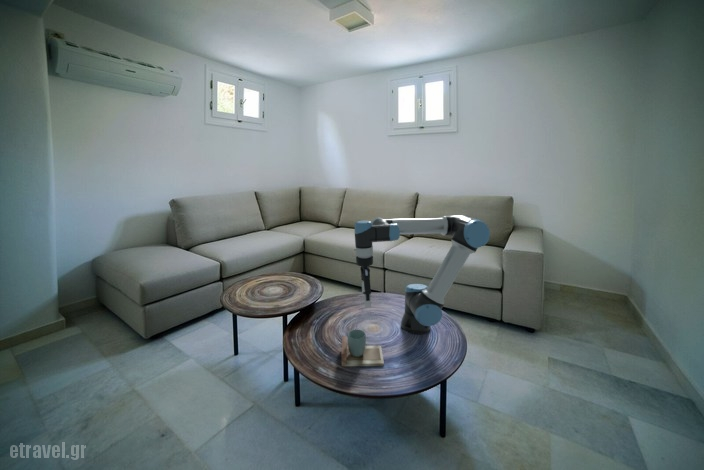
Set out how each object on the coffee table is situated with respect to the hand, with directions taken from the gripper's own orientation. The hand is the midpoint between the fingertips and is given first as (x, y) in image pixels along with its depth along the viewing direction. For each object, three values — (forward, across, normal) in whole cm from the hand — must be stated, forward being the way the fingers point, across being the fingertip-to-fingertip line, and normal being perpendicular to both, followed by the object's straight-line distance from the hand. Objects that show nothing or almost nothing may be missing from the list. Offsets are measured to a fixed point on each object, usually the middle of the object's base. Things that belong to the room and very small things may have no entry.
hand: (366, 299), depth 139 cm
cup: (+22, +9, -6) cm, 24 cm away
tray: (+23, +9, -4) cm, 25 cm away
